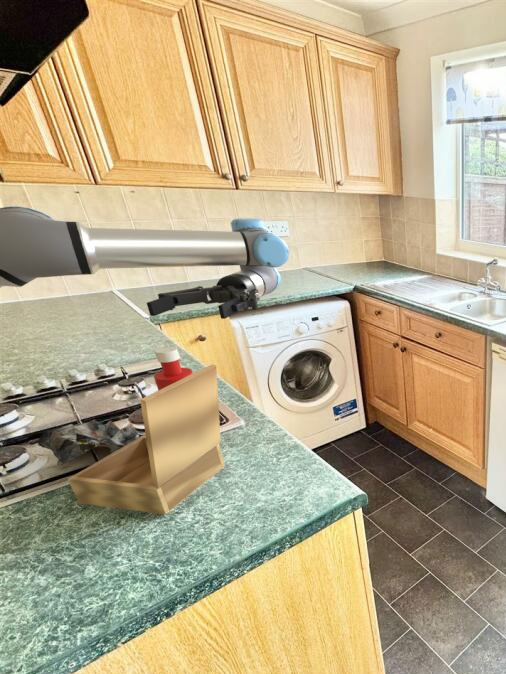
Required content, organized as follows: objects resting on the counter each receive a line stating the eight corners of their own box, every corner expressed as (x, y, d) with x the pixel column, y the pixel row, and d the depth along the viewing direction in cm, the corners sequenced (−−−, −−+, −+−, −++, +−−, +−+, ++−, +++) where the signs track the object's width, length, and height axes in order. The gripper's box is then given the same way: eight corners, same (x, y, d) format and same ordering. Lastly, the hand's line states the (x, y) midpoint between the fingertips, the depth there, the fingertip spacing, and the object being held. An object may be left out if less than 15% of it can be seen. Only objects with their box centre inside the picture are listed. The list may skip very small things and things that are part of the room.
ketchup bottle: (169, 448, 86) (137, 353, 78) (192, 433, 92) (164, 343, 83) (196, 451, 86) (167, 356, 77) (218, 436, 91) (193, 345, 83)
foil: (106, 467, 75) (33, 416, 74) (103, 498, 80) (36, 451, 79) (169, 431, 85) (106, 386, 84) (163, 461, 90) (104, 419, 89)
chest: (80, 506, 70) (67, 479, 68) (152, 460, 83) (143, 435, 80) (167, 517, 69) (156, 489, 67) (226, 468, 81) (219, 443, 79)
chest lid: (139, 399, 60) (145, 400, 60) (211, 364, 72) (216, 365, 72) (153, 487, 67) (158, 488, 67) (216, 441, 79) (221, 442, 79)
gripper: (294, 305, 107) (254, 330, 88) (191, 301, 105) (126, 326, 85) (290, 275, 104) (246, 295, 84) (183, 270, 101) (113, 289, 82)
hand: (186, 310), depth 85 cm, fingers open, 13 cm apart
